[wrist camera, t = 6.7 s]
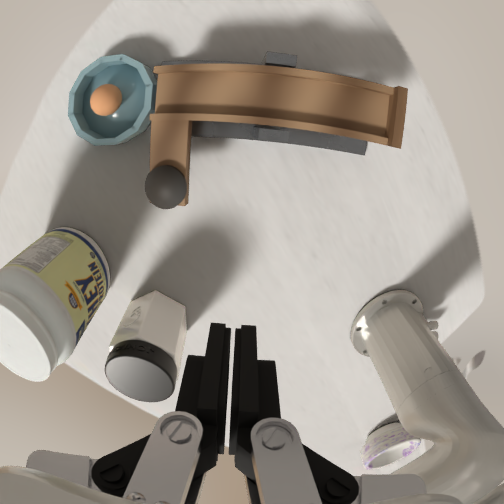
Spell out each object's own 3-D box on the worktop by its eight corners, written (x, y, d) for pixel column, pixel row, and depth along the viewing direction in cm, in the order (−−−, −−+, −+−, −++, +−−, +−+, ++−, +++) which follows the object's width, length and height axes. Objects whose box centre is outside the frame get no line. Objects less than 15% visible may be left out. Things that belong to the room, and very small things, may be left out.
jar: (169, 281, 37) (146, 345, 26) (200, 327, 40) (192, 394, 29) (118, 304, 38) (87, 365, 27) (150, 345, 41) (132, 407, 30)
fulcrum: (371, 86, 28) (407, 80, 20) (362, 154, 31) (396, 166, 24) (163, 62, 26) (141, 45, 18) (157, 135, 29) (133, 140, 22)
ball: (92, 82, 22) (90, 86, 24) (89, 116, 23) (88, 117, 26) (126, 81, 24) (120, 85, 26) (123, 114, 25) (118, 115, 28)
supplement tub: (116, 309, 38) (71, 401, 23) (47, 294, 37) (-9, 368, 22) (112, 229, 33) (40, 308, 18) (37, 218, 32) (-45, 279, 17)
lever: (398, 93, 20) (411, 89, 18) (375, 232, 26) (384, 245, 23) (158, 69, 22) (142, 64, 19) (152, 202, 28) (137, 211, 25)
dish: (163, 56, 25) (156, 50, 23) (156, 141, 29) (148, 143, 27) (84, 65, 24) (72, 62, 22) (80, 144, 29) (67, 147, 26)
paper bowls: (407, 433, 61) (416, 454, 54) (356, 452, 62) (363, 475, 55) (414, 407, 55) (426, 431, 48) (356, 429, 56) (364, 456, 49)
